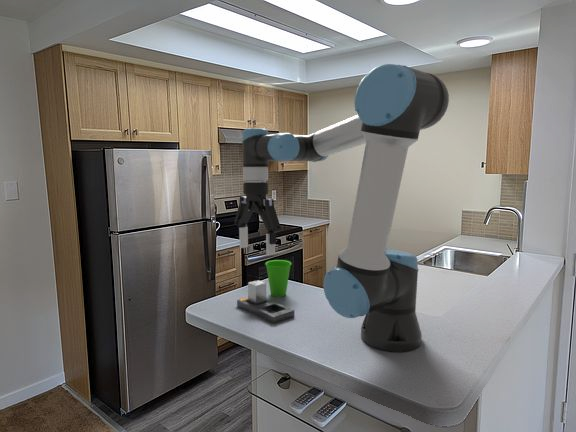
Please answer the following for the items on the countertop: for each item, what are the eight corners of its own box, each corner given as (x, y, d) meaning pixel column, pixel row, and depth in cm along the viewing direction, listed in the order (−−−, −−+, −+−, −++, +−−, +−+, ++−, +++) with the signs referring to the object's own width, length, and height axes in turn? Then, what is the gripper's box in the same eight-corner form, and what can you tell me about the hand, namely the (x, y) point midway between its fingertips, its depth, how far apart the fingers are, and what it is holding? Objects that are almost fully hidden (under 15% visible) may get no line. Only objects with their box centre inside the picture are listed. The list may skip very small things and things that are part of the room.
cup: (288, 299, 130) (288, 267, 128) (262, 297, 131) (262, 265, 130) (293, 291, 138) (293, 260, 137) (268, 289, 140) (268, 259, 139)
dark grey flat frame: (294, 316, 116) (294, 309, 115) (273, 323, 110) (273, 316, 110) (257, 300, 129) (257, 294, 129) (237, 306, 124) (237, 299, 123)
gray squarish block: (266, 307, 123) (266, 283, 122) (256, 310, 120) (255, 285, 119) (258, 304, 126) (258, 280, 124) (248, 307, 123) (248, 282, 122)
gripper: (293, 182, 110) (293, 256, 113) (242, 179, 129) (243, 243, 132) (272, 183, 105) (273, 260, 108) (222, 180, 124) (224, 246, 127)
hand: (256, 251), depth 120 cm, fingers open, 13 cm apart
